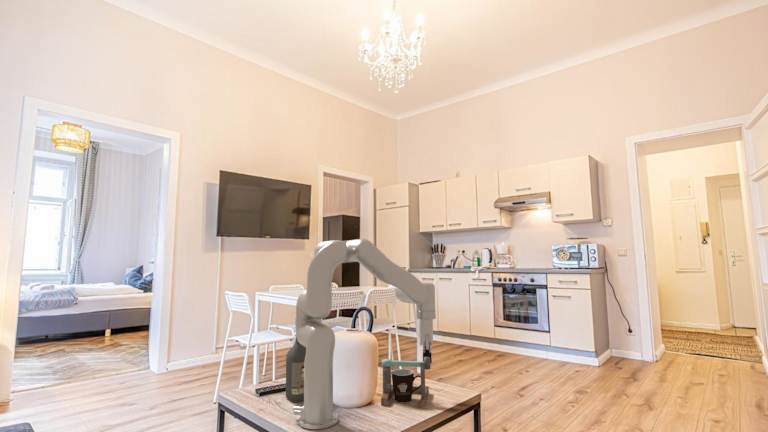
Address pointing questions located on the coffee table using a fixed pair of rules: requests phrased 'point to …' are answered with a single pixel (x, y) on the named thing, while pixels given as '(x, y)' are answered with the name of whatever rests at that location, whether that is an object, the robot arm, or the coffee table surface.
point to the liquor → (295, 372)
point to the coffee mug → (403, 384)
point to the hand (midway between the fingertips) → (427, 362)
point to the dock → (422, 390)
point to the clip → (406, 363)
